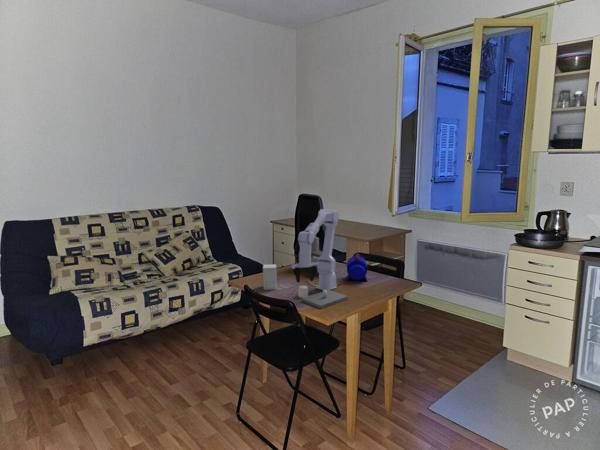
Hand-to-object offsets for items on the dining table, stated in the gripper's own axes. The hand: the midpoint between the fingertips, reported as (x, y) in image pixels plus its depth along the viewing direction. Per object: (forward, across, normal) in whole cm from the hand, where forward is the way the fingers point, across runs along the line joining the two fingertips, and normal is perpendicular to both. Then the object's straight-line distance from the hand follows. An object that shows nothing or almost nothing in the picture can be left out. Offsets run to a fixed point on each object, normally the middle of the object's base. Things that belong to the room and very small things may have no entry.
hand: (304, 281), depth 212 cm
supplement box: (+10, -8, +27) cm, 30 cm away
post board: (+10, +10, -4) cm, 14 cm away
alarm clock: (+8, +45, +18) cm, 49 cm away
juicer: (+8, +32, +47) cm, 57 cm away
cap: (+10, +3, +6) cm, 12 cm away
